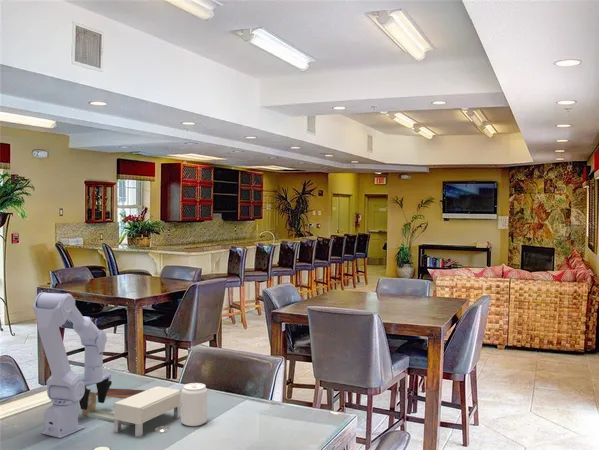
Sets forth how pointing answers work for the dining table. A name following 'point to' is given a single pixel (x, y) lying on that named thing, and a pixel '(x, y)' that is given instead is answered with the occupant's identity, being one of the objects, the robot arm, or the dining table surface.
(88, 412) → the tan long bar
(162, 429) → the steel token
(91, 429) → the dining table surface
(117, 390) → the wooden tablet
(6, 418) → the dining table surface
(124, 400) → the cream toy bench
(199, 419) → the beverage can
